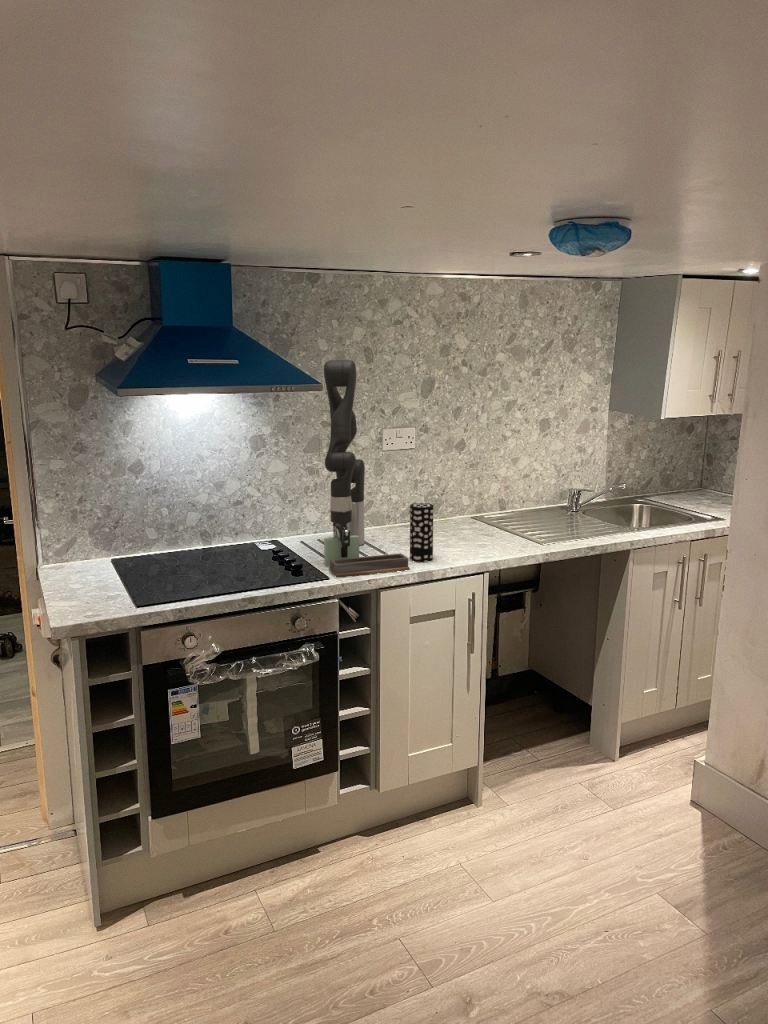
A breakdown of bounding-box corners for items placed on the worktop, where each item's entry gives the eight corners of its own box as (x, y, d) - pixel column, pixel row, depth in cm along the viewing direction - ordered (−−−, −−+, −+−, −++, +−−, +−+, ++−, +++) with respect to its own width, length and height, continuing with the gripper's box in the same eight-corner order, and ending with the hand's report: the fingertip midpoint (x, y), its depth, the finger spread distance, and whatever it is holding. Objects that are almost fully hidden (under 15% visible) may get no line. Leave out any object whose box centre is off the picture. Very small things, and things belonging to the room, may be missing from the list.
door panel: (324, 565, 275) (324, 538, 273) (357, 562, 279) (356, 535, 277) (326, 567, 273) (325, 539, 271) (359, 564, 277) (358, 536, 275)
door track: (329, 569, 269) (328, 558, 269) (399, 563, 278) (399, 552, 277) (336, 578, 260) (336, 566, 259) (409, 570, 268) (409, 559, 268)
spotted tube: (406, 557, 285) (406, 504, 280) (427, 555, 288) (427, 502, 283) (415, 563, 277) (415, 508, 273) (436, 561, 280) (437, 506, 276)
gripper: (325, 505, 277) (326, 550, 281) (336, 513, 264) (336, 561, 267) (345, 503, 280) (346, 549, 283) (357, 511, 266) (357, 559, 270)
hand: (341, 554), depth 275 cm, fingers open, 6 cm apart
